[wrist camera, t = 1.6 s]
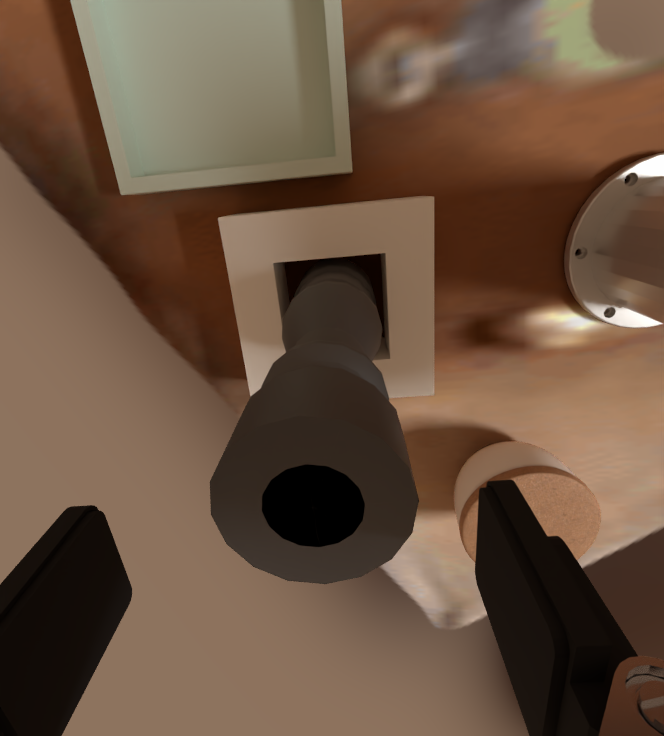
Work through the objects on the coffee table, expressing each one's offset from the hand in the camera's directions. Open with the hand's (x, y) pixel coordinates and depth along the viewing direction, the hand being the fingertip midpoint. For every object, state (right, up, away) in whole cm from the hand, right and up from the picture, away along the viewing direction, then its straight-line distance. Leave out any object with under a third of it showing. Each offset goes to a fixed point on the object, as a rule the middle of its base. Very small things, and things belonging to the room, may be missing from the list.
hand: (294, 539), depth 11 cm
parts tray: (-6, +24, +18) cm, 31 cm away
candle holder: (+1, +10, +24) cm, 26 cm away
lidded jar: (+17, -5, +30) cm, 35 cm away
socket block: (+1, +10, +24) cm, 26 cm away
